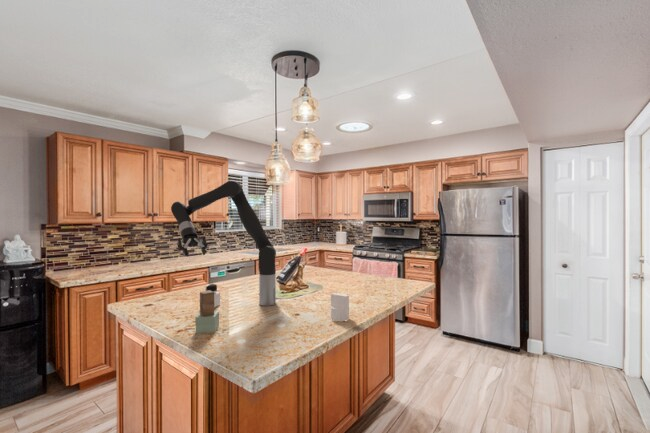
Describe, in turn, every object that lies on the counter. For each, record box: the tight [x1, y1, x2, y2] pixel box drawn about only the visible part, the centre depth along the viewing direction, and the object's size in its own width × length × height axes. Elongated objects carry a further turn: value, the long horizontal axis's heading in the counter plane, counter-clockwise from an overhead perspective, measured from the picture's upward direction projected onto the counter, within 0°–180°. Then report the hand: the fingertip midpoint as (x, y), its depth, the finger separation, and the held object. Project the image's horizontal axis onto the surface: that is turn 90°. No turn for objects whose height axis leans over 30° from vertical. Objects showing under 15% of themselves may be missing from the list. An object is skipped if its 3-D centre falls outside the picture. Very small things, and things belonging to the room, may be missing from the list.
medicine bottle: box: [204, 283, 221, 309], centre depth 175 cm, size 7×7×12 cm
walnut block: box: [199, 290, 215, 317], centre depth 138 cm, size 4×4×10 cm
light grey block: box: [330, 292, 350, 322], centre depth 153 cm, size 9×9×12 cm
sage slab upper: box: [194, 310, 220, 327], centre depth 139 cm, size 8×8×4 cm
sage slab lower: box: [195, 319, 220, 334], centre depth 139 cm, size 8×8×4 cm
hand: (196, 254), depth 159 cm, fingers open, 8 cm apart
